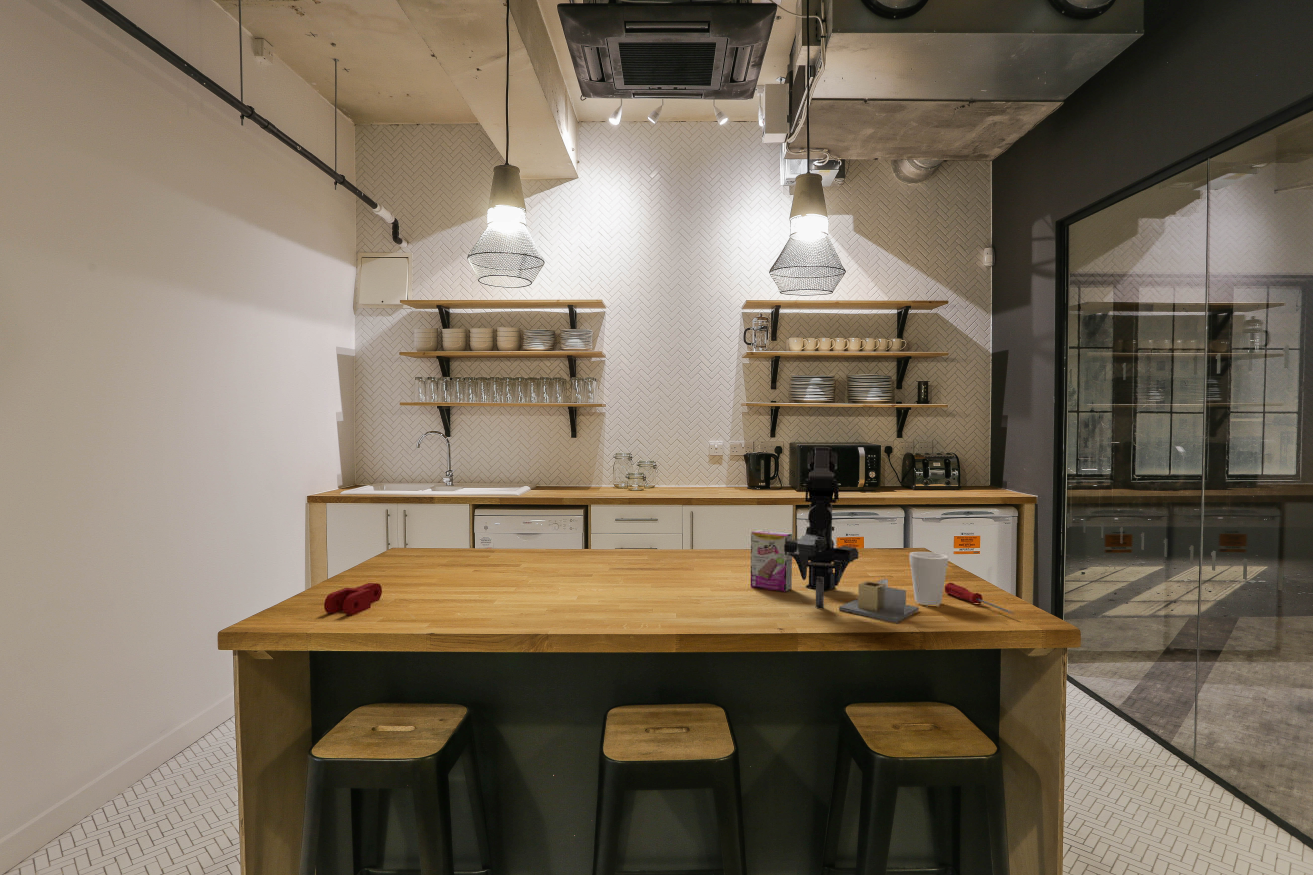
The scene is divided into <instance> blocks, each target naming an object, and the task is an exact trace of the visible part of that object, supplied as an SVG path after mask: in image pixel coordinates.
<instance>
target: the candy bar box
mask: <svg viewBox="0 0 1313 875" xmlns="http://www.w3.org/2000/svg"><path fill="white" fill-rule="evenodd" d="M750 539H751V540H750V588H755V589H756V588H757V589H762V590H768V589H769V590H770V591H774V590H776V591H775V592H781V591H783V592H782V593H787V592H789V591H790V590H792V585H793V584H792V583H793V582H792V578H793V575H792V573H793V569H792V568H793V557H792V556H790V555H789V554H788V553H790V552H785V551H784V544H785V542H786V541H788V540H793V533H791V532H790V533H789V532H782V531H781V532H780V531H772V530H771V531H770V530H764V529H763V530H762V529H756V530H753V531H751V535H750ZM789 589H790V590H789ZM769 590H768V591H769ZM788 590H789V591H788ZM786 591H787V592H786Z"/></svg>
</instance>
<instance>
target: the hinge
mask: <svg viewBox="0 0 1313 875" xmlns="http://www.w3.org/2000/svg"><path fill="white" fill-rule="evenodd" d="M888 583H889V579H888V578H883V579H880V580H877V581H868V580H866V581H863V582H861V583H859V584H858V595H857V596H858V598H857V599H858V608H861V609H866V610H871V611H875V612H878V611H880V610H883V611H887V612H892V613H897V614H902V615H905V614H906V605H907V603H906V602H907V589H901V588H896V587H891V586H888Z"/></svg>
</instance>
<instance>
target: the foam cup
mask: <svg viewBox="0 0 1313 875" xmlns="http://www.w3.org/2000/svg"><path fill="white" fill-rule="evenodd" d="M909 563H910V569H911V570H910V572H911V579H912V586H913V596H914V601H916V602H918V603H920V604H924V605H939V604H941V605H942V600H943V594H944V590H945V582H946V581H945V580H946V577H947V576H946V575H947V568H948V566H949V556H948V555H946V554H943V553H938V552H934V551H932V552H931V551H913V552H909ZM916 602H915V603H916Z"/></svg>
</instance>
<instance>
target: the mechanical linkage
mask: <svg viewBox="0 0 1313 875" xmlns="http://www.w3.org/2000/svg"><path fill="white" fill-rule="evenodd" d="M382 588H383V587H382V585H381V584H380V583H377V582H376V583H375V582H367V583H365V584H362V585H359V586H356V587H343V588H341V589H339V590H337V591H332V592H330V593H328V595H327V596H326V597H325V599H324V603H323V609H324V611H325V613H327V614H332V613H333V614H334V613H335V614H337V613H339V611H340V612H341V611H342V612H344V614H345V615H347V616H348V615H349V616H355V615H357V614H359V612H360V613H362V612H364V611H367V610H369V609H371V607H372V606H371V604H373V602H374V603H376V602H378V601H379V600H380V599H381V597H382V594H383V589H382ZM375 601H376V602H375ZM366 609H367V610H366ZM361 611H362V612H361Z"/></svg>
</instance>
